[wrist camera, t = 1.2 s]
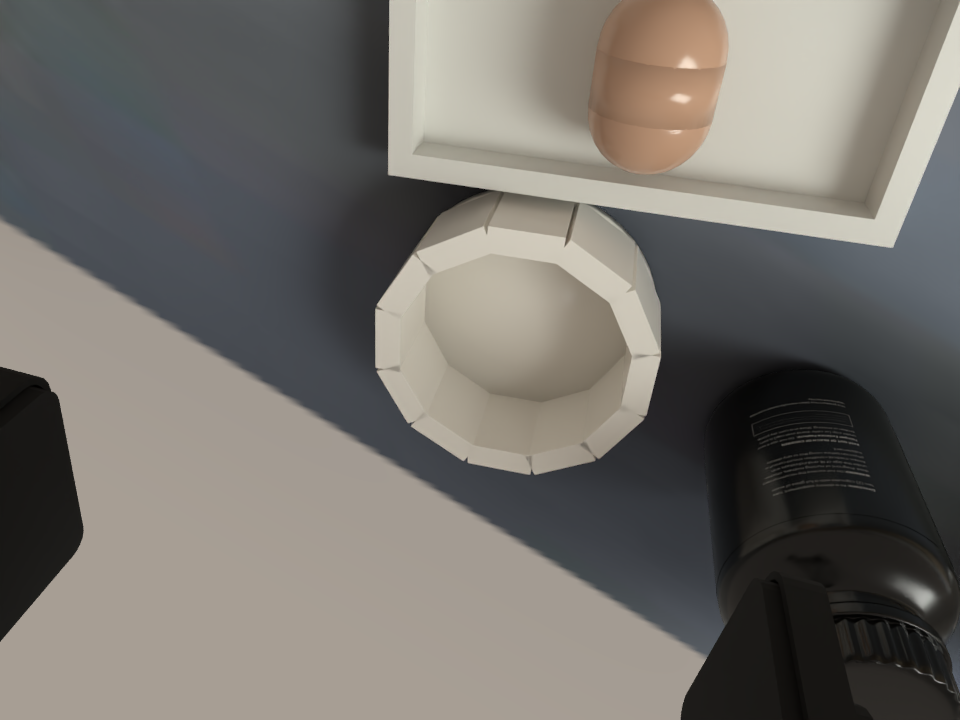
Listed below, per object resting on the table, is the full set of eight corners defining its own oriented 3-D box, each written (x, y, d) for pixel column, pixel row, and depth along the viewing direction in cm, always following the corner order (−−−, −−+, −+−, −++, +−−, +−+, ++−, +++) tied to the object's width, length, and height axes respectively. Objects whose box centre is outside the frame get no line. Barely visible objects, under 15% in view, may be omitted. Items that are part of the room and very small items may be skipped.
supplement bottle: (673, 465, 31) (680, 734, 22) (755, 336, 28) (809, 593, 18) (825, 523, 32) (902, 818, 22) (929, 402, 28) (1080, 695, 18)
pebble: (611, -33, 22) (603, -19, 19) (738, -20, 21) (751, -3, 18) (584, 145, 25) (573, 182, 22) (695, 160, 24) (700, 200, 21)
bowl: (682, 207, 26) (686, 256, 22) (630, 427, 31) (626, 493, 28) (410, 168, 27) (375, 209, 23) (404, 386, 32) (375, 445, 29)
